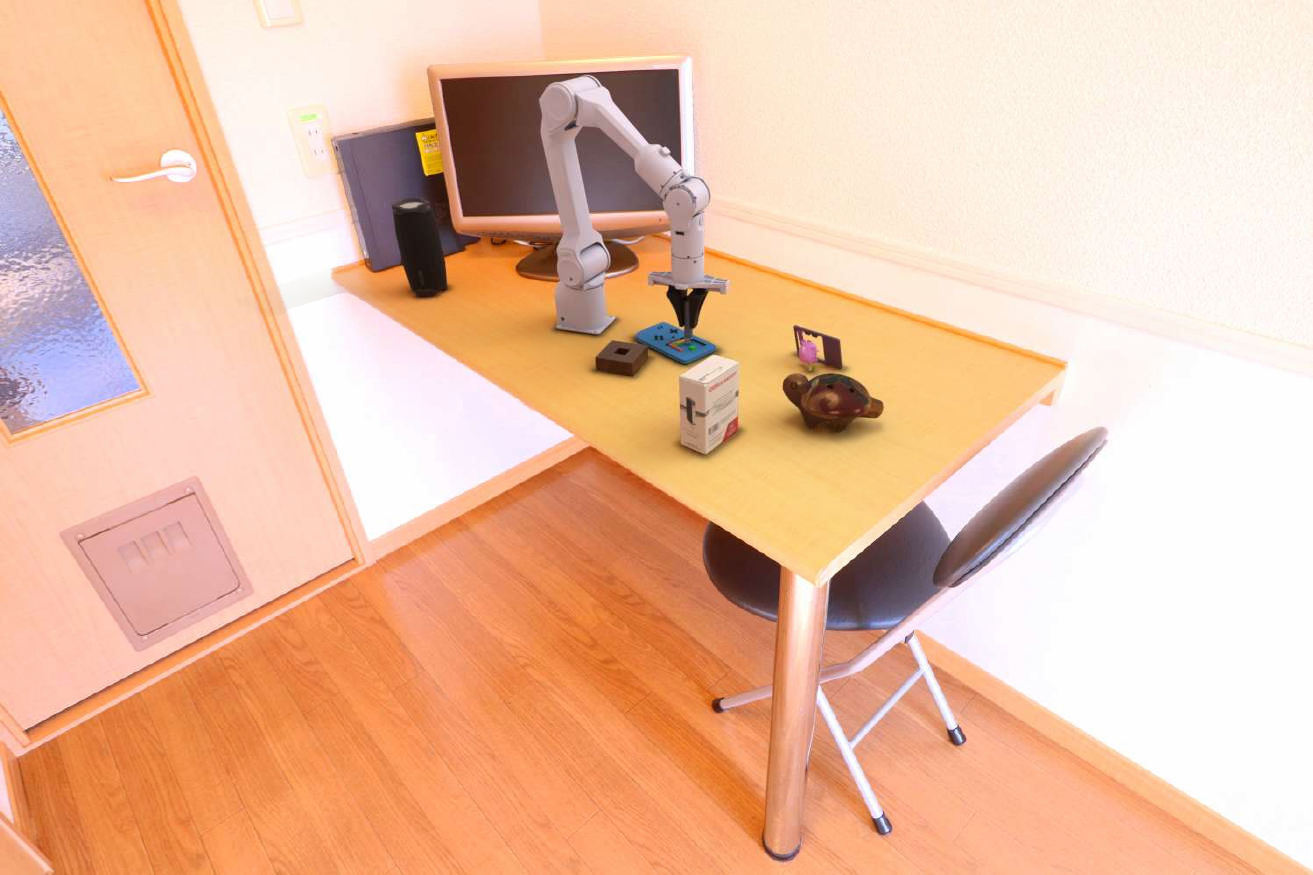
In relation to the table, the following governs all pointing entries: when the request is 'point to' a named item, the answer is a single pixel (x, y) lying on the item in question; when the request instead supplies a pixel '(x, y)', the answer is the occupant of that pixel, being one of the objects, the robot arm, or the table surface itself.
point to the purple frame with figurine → (810, 350)
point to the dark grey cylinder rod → (687, 322)
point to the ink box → (709, 403)
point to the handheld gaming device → (674, 343)
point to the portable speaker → (420, 246)
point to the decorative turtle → (831, 399)
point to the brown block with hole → (622, 358)
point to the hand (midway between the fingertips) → (688, 325)
